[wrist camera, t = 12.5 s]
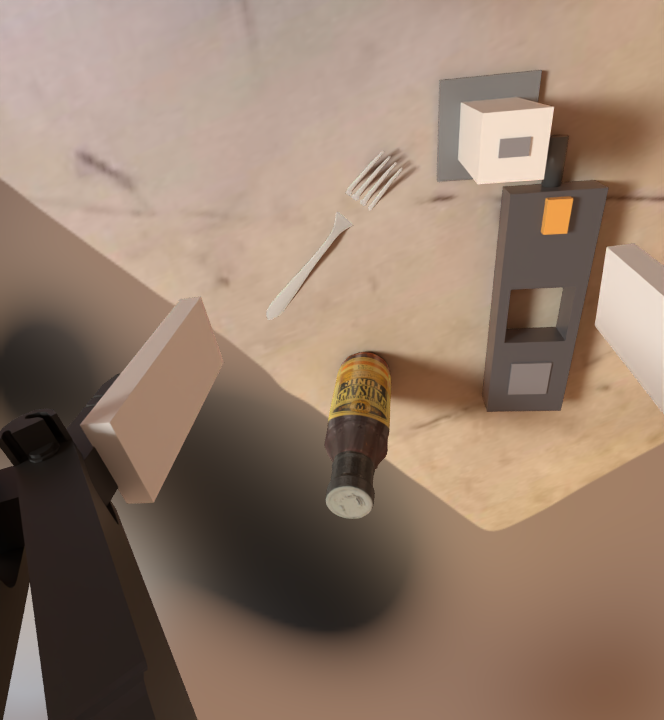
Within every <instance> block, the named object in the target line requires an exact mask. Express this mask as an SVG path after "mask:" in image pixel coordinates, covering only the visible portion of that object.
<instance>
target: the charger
mask: <svg viewBox="0 0 664 720" xmlns="http://www.w3.org/2000/svg"><path fill="white" fill-rule="evenodd" d="M553 112H554V107H553V106H549V105H545V104H541V103H537V102H534V101H530V100H526V99H522V98H518V97H512V98H501V99H490V100H479V101H469V102H461V110H460V130H459V150H458V160H459V161H460V163H461V164H462V165H463V166H464V168H465V169H466V170H467V172H468V173H469V174H470V175H471V177H472V178H473V179H474V180H475V182H476V183H477V184H488V183H502V182H516V181H530V180H544V174H545V167H546V160H547V153H548V146H549V139H550V132H551V125H552V118H553Z"/></svg>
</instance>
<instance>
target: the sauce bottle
mask: <svg viewBox="0 0 664 720" xmlns="http://www.w3.org/2000/svg"><path fill="white" fill-rule="evenodd" d="M390 399H391V375H390V370H389V367H388V365H387V363H386V362H385V360H383V359H382V358H381V357H379V356H377V355H375V354H373V353H368V352H361V353H357V354H354V355H351V356H349V357H348V358H347V359H346V360H345V361H344V362H343V364H342V365H341V368H340V369H339V371H338V375H337V380H336V385H335V389H334V394H333V399H332V403H331V408H330V414H329V419H328V428H327V434H326V439H325V448H326V450H327V453H328V455H329V457H330V459H331V460H332V462H333V464H332V476H331V482H330V483H329V485H328V487H327V493H326V504H327V506H328V508H329V509H330V510H331V511H332V512H333V513H335V514H336V515H338V516H341V517H344V518H352V519H356V518H361V517H363V516H365V515H367V514H368V513H369V512H370V511H371V510H372V508H373V504H374V494H375V493H374V488H373V475H374V472H375V469H376V468H377V466H378V464H379V463H380V462H381V461H382V460H383V459H384V458H385V457H386V455H387V451H388V449H387V442H388V435H389V426H390Z"/></svg>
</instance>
